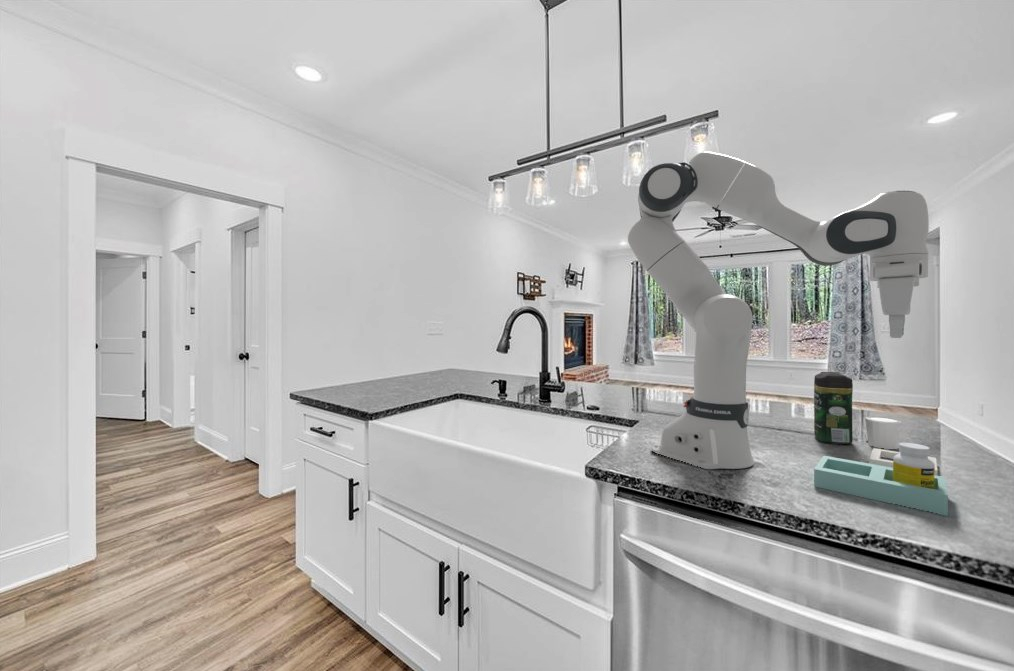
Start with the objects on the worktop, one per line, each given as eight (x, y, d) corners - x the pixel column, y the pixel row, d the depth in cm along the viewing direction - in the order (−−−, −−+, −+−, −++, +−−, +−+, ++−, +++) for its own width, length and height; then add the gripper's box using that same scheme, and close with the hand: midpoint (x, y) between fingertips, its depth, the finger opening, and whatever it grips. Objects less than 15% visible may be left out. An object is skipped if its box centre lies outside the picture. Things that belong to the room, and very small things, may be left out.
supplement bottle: (925, 507, 71) (926, 451, 71) (886, 495, 76) (886, 443, 76) (940, 501, 74) (941, 447, 73) (901, 490, 78) (902, 439, 78)
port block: (814, 486, 81) (814, 468, 81) (823, 471, 89) (823, 454, 88) (947, 516, 68) (947, 494, 68) (944, 495, 76) (945, 475, 76)
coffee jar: (811, 434, 117) (811, 369, 116) (846, 437, 113) (847, 370, 112) (817, 443, 108) (818, 373, 108) (856, 447, 104) (856, 375, 104)
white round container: (908, 451, 101) (909, 423, 101) (876, 449, 102) (876, 422, 102) (888, 442, 108) (889, 416, 107) (858, 441, 109) (859, 415, 109)
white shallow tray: (869, 465, 92) (869, 458, 92) (873, 454, 99) (873, 448, 99) (937, 477, 84) (937, 470, 84) (935, 464, 91) (936, 457, 91)
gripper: (880, 275, 95) (880, 335, 95) (873, 268, 80) (873, 338, 81) (919, 272, 90) (918, 335, 91) (919, 265, 76) (918, 339, 76)
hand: (897, 336), depth 86 cm, fingers open, 8 cm apart
